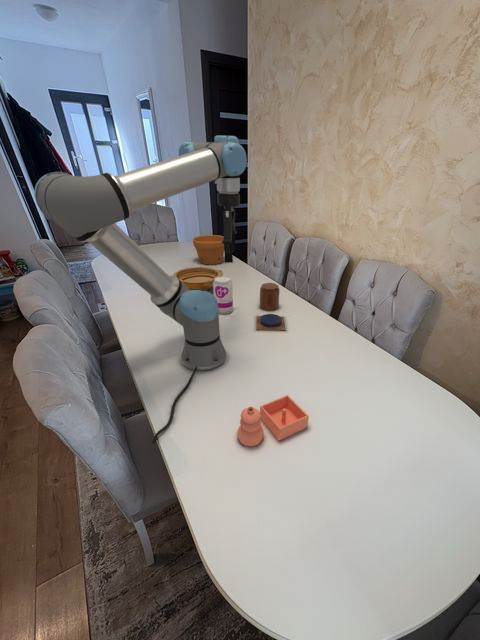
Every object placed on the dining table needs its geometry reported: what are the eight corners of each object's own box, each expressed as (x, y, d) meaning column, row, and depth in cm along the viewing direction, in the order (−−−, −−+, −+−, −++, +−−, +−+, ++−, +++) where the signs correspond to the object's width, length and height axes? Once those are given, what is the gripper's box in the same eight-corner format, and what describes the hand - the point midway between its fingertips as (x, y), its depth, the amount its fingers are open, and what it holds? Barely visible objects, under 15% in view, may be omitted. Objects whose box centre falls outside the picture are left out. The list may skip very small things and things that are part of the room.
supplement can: (230, 315, 136) (229, 283, 128) (212, 313, 138) (210, 281, 129) (235, 307, 143) (234, 276, 135) (218, 306, 144) (216, 275, 136)
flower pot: (187, 262, 200) (185, 238, 192) (210, 255, 214) (208, 233, 206) (212, 268, 190) (210, 244, 182) (233, 260, 205) (232, 237, 197)
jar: (279, 311, 141) (280, 289, 136) (260, 311, 141) (260, 289, 135) (277, 303, 149) (278, 282, 143) (259, 303, 148) (259, 282, 143)
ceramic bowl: (183, 303, 146) (181, 287, 142) (162, 287, 162) (160, 272, 158) (234, 289, 162) (234, 275, 158) (211, 276, 178) (210, 263, 173)
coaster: (285, 330, 126) (285, 329, 125) (256, 330, 125) (256, 329, 125) (283, 317, 136) (283, 316, 135) (256, 317, 136) (256, 316, 135)
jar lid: (270, 315, 136) (270, 311, 135) (285, 322, 131) (286, 318, 130) (255, 322, 130) (255, 318, 129) (271, 329, 125) (271, 325, 124)
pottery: (286, 405, 88) (289, 379, 83) (307, 427, 82) (311, 399, 76) (230, 429, 80) (229, 401, 75) (248, 455, 74) (248, 426, 68)
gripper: (221, 188, 112) (223, 247, 123) (212, 196, 91) (216, 267, 103) (241, 188, 112) (242, 248, 124) (237, 197, 91) (238, 267, 103)
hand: (230, 256), depth 113 cm, fingers open, 13 cm apart
